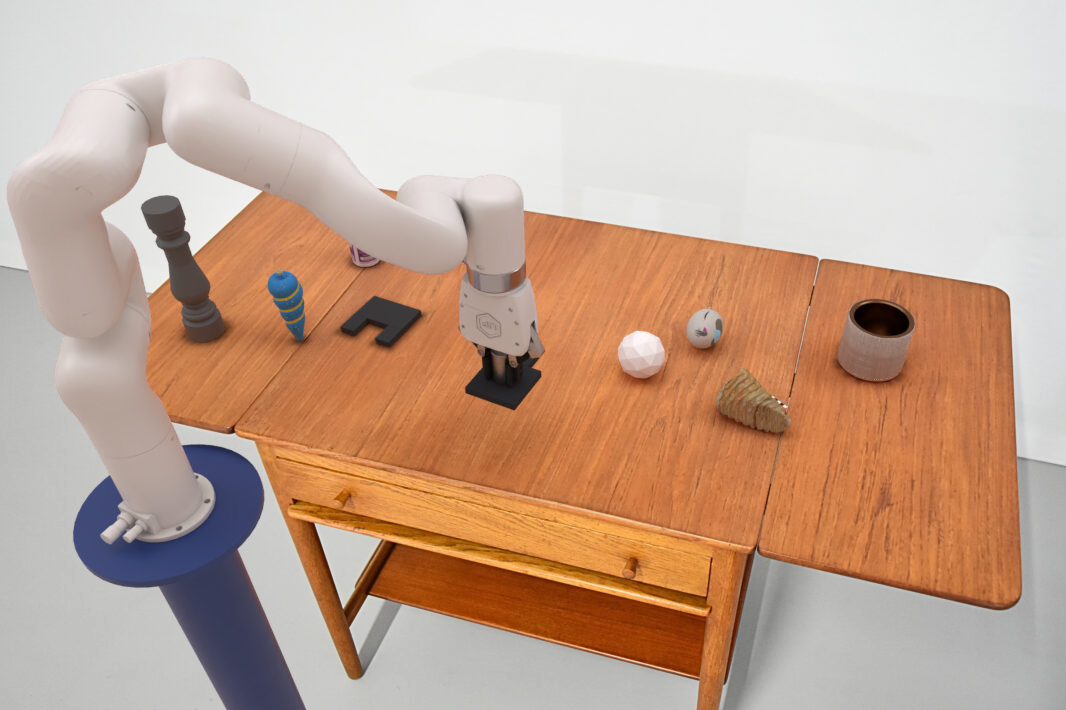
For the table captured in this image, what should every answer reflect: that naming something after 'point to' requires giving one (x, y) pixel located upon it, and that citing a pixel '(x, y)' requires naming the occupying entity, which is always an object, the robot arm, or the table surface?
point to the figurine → (704, 328)
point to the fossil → (751, 403)
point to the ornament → (288, 300)
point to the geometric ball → (641, 354)
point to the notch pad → (382, 319)
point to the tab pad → (506, 391)
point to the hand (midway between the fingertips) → (503, 376)
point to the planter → (876, 339)
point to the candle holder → (183, 269)
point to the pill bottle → (362, 257)
